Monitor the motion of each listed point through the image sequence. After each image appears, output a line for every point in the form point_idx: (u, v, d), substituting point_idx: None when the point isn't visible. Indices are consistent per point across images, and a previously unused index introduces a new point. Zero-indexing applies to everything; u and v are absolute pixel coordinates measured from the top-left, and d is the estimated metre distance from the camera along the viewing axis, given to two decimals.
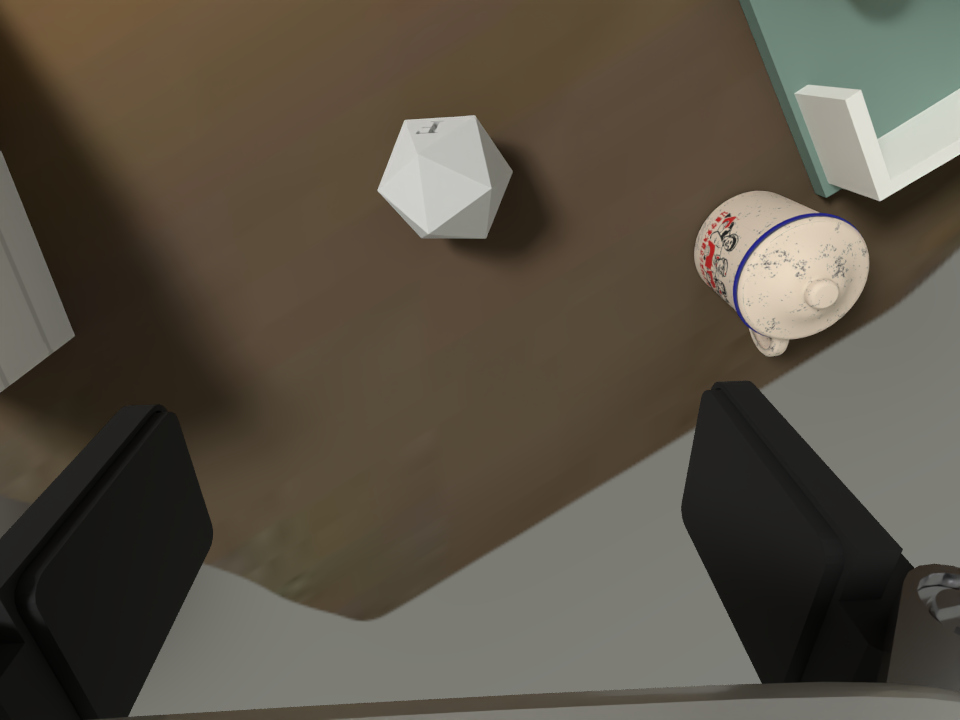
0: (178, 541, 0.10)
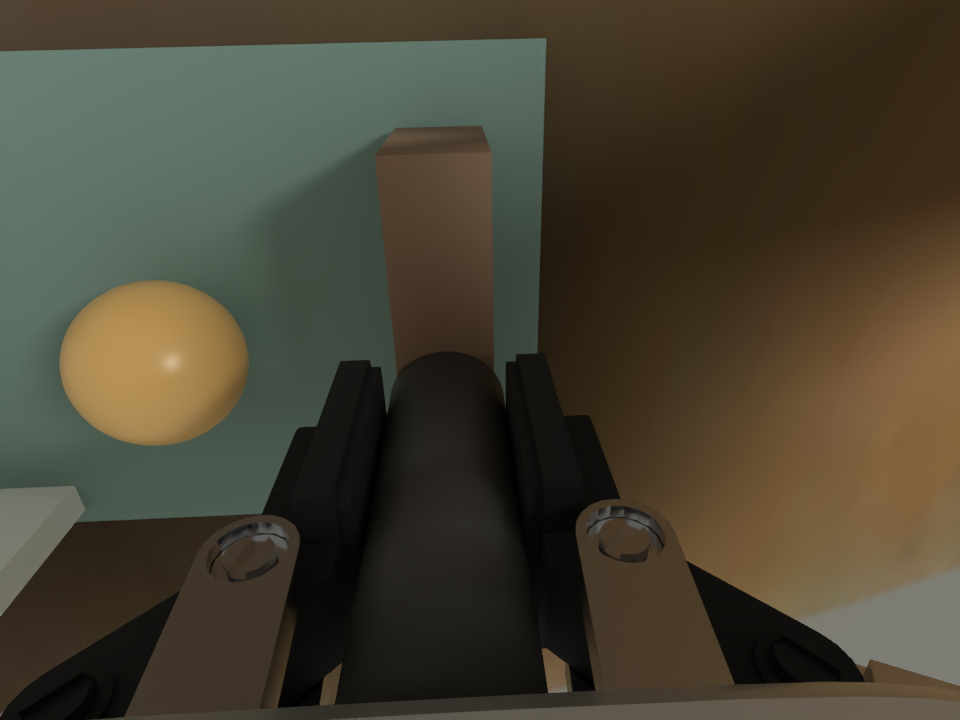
0: None
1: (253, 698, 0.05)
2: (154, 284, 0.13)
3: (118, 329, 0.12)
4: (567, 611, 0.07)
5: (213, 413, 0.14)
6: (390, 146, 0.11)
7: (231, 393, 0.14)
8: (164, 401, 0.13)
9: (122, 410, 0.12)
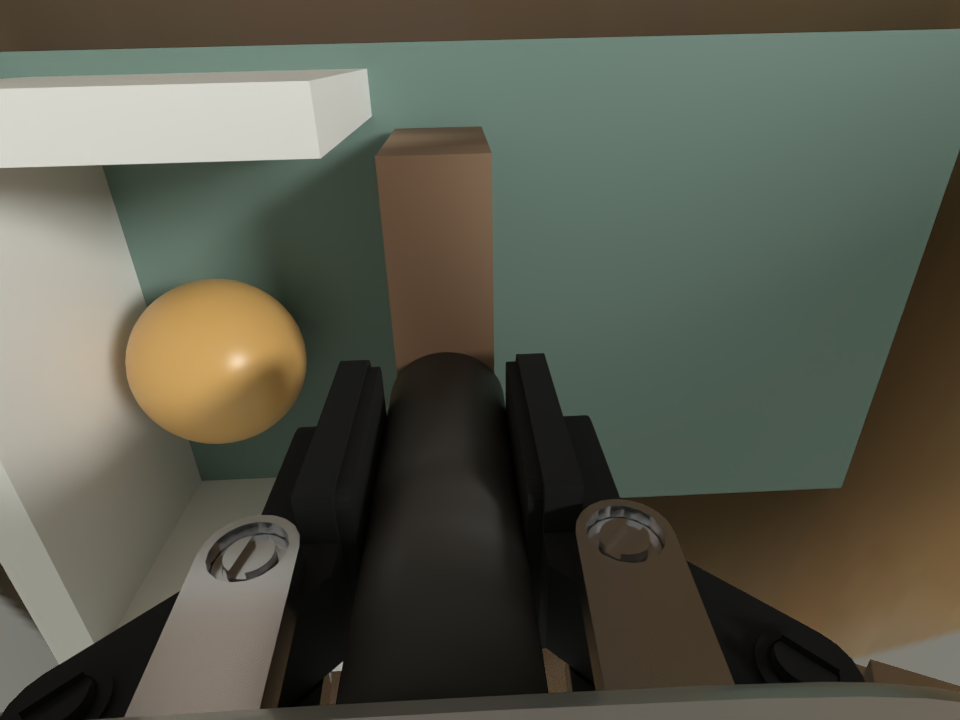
0: None
1: (253, 698, 0.05)
2: (194, 281, 0.13)
3: (263, 291, 0.14)
4: (567, 611, 0.07)
5: None
6: (390, 147, 0.11)
7: None
8: None
9: None
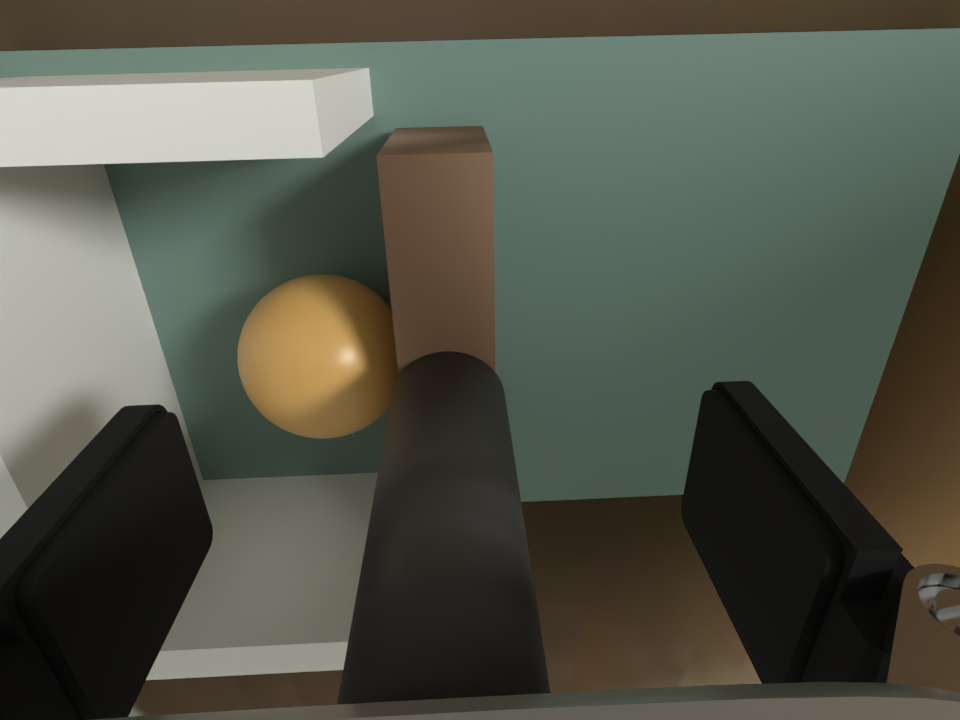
0: (178, 541, 0.10)
1: None
2: (297, 284, 0.13)
3: None
4: None
5: None
6: (391, 146, 0.11)
7: None
8: None
9: None
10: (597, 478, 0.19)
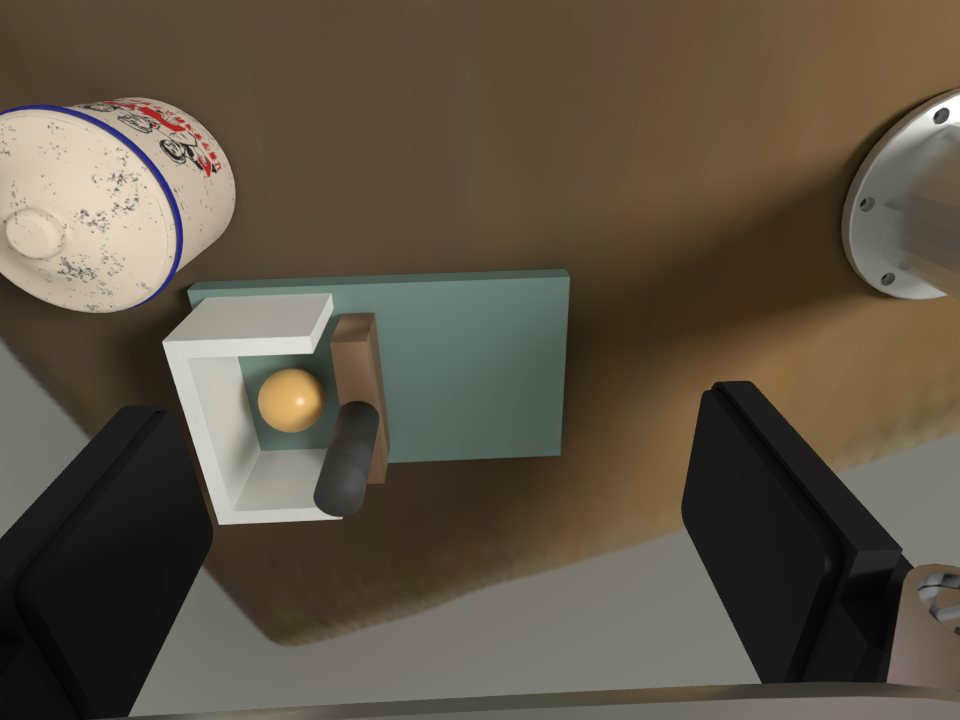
0: (178, 541, 0.10)
1: None
2: (281, 372, 0.35)
3: (302, 370, 0.37)
4: None
5: None
6: (336, 334, 0.33)
7: None
8: None
9: None
10: (442, 450, 0.41)
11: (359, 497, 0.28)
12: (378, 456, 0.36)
